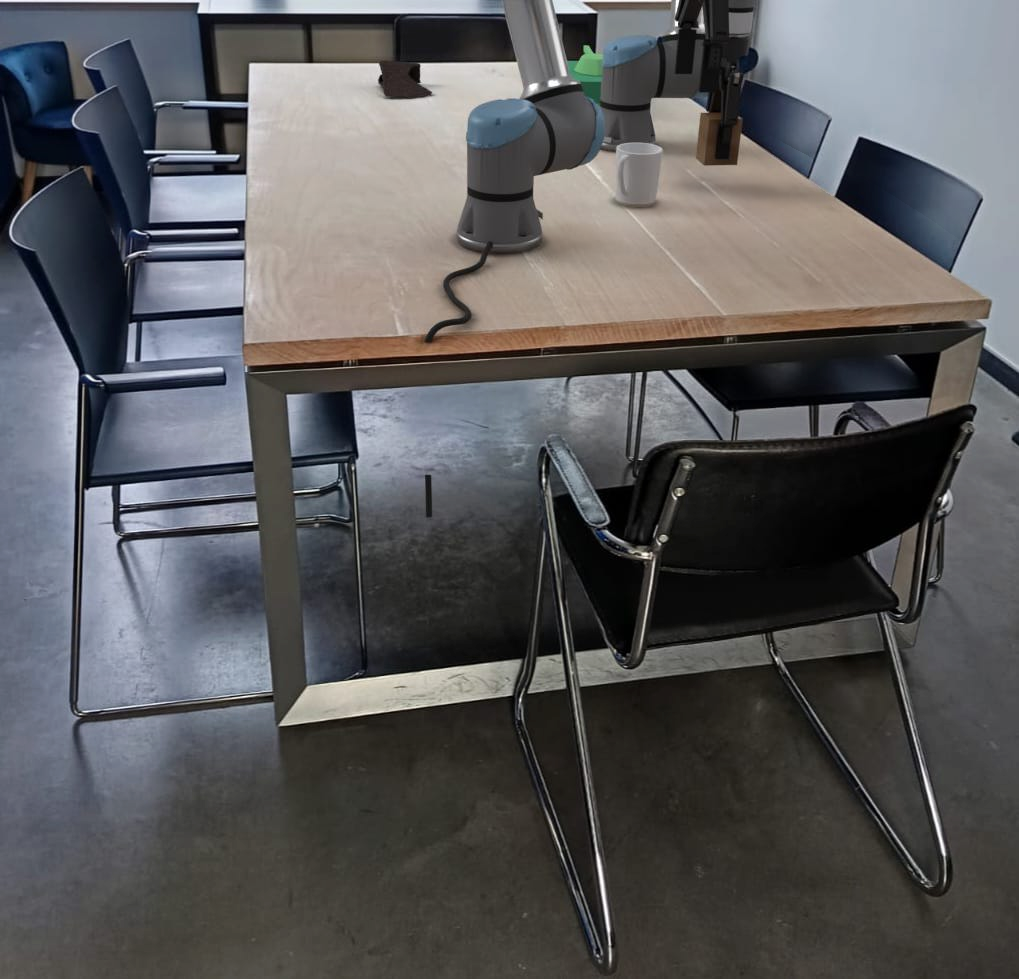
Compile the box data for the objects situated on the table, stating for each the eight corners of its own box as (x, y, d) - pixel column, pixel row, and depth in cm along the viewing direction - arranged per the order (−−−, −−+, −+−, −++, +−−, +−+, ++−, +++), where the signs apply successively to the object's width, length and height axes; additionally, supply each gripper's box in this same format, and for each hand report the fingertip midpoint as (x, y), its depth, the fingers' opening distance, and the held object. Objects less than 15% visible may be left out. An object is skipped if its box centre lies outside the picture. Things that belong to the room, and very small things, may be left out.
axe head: (443, 87, 294) (392, 77, 287) (436, 115, 299) (385, 106, 292) (421, 62, 307) (371, 52, 300) (414, 89, 311) (365, 80, 304)
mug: (629, 191, 223) (633, 140, 217) (666, 200, 218) (671, 148, 212) (597, 203, 215) (601, 150, 210) (635, 213, 210) (640, 159, 205)
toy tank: (617, 42, 302) (635, 66, 272) (613, 88, 309) (631, 117, 279) (553, 40, 301) (564, 65, 271) (551, 87, 308) (562, 116, 278)
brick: (728, 157, 228) (733, 112, 224) (737, 165, 223) (742, 118, 219) (695, 158, 228) (700, 112, 223) (703, 165, 223) (709, 119, 218)
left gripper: (663, -80, 167) (651, 66, 178) (711, -65, 146) (693, 100, 157) (711, -80, 168) (696, 66, 179) (765, -65, 147) (744, 100, 158)
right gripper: (698, 26, 220) (686, 143, 232) (727, 42, 204) (712, 167, 216) (734, 26, 221) (720, 142, 233) (765, 42, 205) (749, 166, 217)
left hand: (695, 82), depth 168 cm, fingers open, 13 cm apart
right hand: (716, 154), depth 225 cm, fingers closed on brick, 6 cm apart
